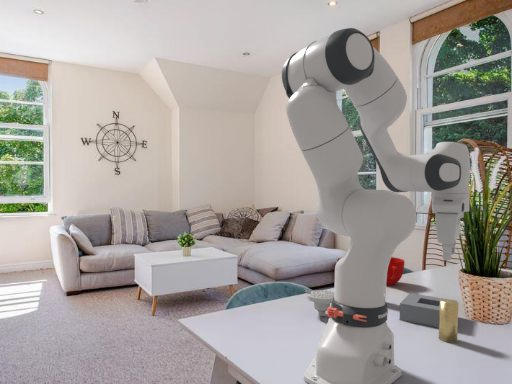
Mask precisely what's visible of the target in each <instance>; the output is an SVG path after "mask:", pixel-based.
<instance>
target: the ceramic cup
mask: <svg viewBox="0 0 512 384" xmlns="http://www.w3.org/2000/svg"><path fill="white" fill-rule="evenodd" d="M404 269H405V260H404V259H402V258H398V257H394V256H392V257H391V259H390V262H389V266H388V270H387V280H386V286H394V285H393V284H395V285H396V284H397V283H398V282H399V281H400V280H401V278H402V276H403V275H404Z"/></svg>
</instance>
